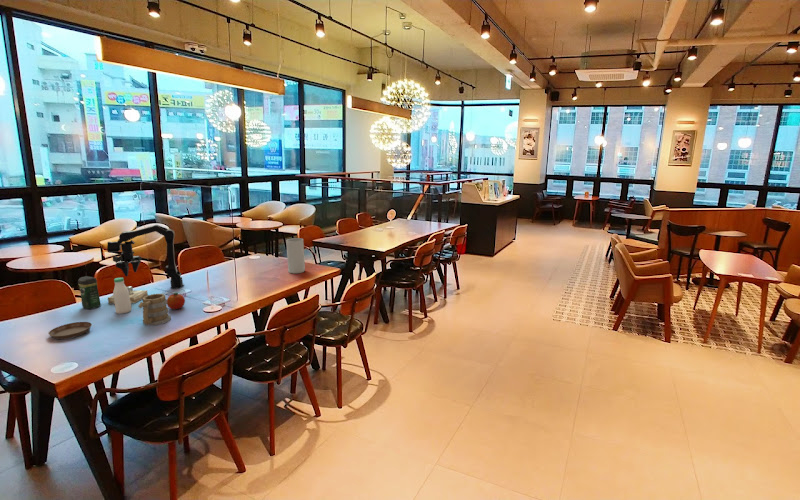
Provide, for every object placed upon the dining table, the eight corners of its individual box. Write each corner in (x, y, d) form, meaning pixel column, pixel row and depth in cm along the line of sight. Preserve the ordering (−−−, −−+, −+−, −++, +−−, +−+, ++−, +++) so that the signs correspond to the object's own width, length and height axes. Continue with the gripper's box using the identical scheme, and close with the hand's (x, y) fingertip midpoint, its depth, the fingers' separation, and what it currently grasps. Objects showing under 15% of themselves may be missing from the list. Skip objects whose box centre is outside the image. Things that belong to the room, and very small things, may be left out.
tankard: (152, 316, 241) (149, 291, 237) (174, 316, 240) (171, 291, 237) (129, 331, 221) (125, 303, 218) (153, 331, 221) (149, 303, 217)
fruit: (182, 304, 260) (180, 288, 257) (188, 308, 253) (186, 292, 251) (165, 308, 253) (163, 292, 251) (170, 312, 247) (168, 295, 244)
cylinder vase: (302, 273, 323) (301, 241, 318) (286, 273, 323) (284, 241, 318) (306, 269, 335) (304, 238, 330) (290, 269, 336) (288, 238, 330)
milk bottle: (134, 310, 250) (129, 277, 246) (122, 314, 243) (117, 280, 239) (125, 308, 253) (119, 275, 248) (112, 313, 246) (107, 279, 241)
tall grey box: (134, 298, 270) (132, 286, 268) (131, 300, 267) (129, 287, 265) (126, 298, 270) (124, 286, 268) (123, 300, 267) (121, 288, 265)
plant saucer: (44, 343, 207) (42, 338, 207) (55, 330, 223) (54, 324, 222) (87, 337, 214) (86, 331, 213) (96, 324, 230) (95, 319, 229)
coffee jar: (103, 306, 257) (98, 276, 253) (89, 310, 250) (83, 279, 246) (94, 303, 262) (89, 274, 257) (80, 307, 255) (74, 277, 251)
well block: (147, 295, 275) (147, 290, 275) (134, 303, 262) (134, 297, 261) (123, 295, 275) (122, 290, 275) (108, 303, 262) (107, 297, 261)
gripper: (123, 247, 286) (127, 270, 290) (105, 254, 268) (109, 278, 271) (140, 247, 286) (143, 270, 290) (123, 254, 268) (126, 278, 271)
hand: (130, 274), depth 280 cm, fingers open, 9 cm apart
